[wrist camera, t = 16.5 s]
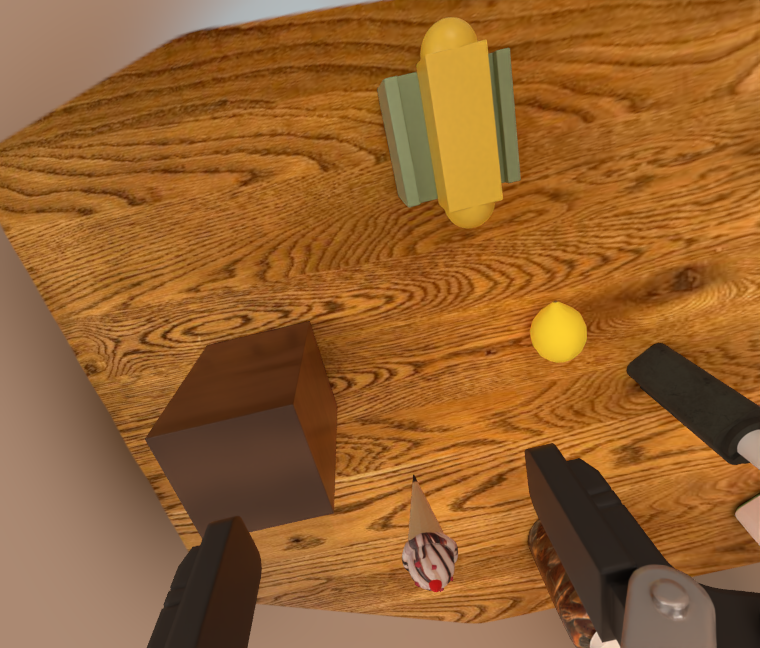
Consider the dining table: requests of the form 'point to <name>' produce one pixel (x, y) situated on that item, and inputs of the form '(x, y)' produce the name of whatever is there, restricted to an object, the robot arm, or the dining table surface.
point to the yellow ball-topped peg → (460, 121)
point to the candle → (701, 403)
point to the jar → (563, 592)
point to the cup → (750, 517)
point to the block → (411, 135)
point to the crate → (252, 432)
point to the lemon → (558, 332)
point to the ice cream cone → (428, 546)
